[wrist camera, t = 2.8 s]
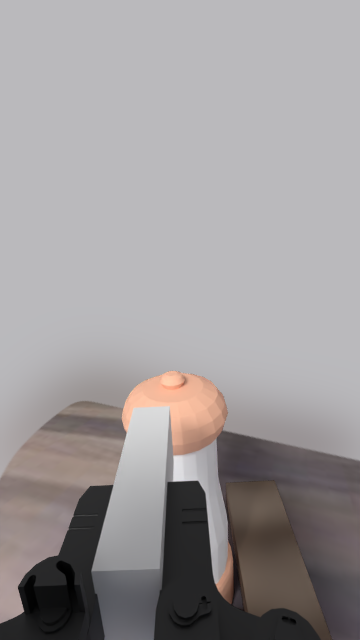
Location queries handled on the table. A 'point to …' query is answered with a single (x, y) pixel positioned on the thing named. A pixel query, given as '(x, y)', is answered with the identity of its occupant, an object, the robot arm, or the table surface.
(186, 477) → the salt shaker
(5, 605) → the table surface
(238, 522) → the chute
